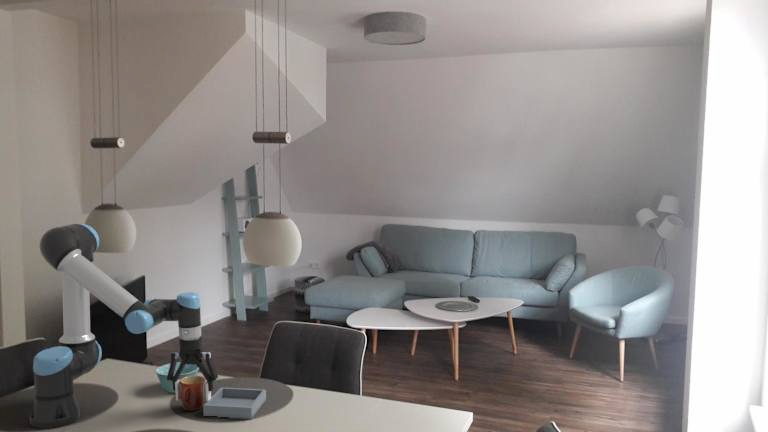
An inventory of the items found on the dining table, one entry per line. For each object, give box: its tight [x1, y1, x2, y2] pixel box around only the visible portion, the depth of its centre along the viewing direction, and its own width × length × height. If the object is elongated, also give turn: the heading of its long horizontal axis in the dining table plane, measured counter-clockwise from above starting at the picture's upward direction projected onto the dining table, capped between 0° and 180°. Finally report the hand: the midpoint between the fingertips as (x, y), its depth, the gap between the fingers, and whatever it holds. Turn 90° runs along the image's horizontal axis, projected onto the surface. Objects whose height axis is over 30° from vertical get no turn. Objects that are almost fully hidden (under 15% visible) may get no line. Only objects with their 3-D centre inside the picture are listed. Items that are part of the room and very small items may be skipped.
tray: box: [202, 387, 267, 420], centre depth 226 cm, size 17×17×4 cm
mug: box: [180, 375, 207, 412], centre depth 224 cm, size 12×9×10 cm
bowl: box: [155, 361, 200, 394], centre depth 244 cm, size 16×16×8 cm
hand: (193, 399), depth 223 cm, fingers open, 10 cm apart
